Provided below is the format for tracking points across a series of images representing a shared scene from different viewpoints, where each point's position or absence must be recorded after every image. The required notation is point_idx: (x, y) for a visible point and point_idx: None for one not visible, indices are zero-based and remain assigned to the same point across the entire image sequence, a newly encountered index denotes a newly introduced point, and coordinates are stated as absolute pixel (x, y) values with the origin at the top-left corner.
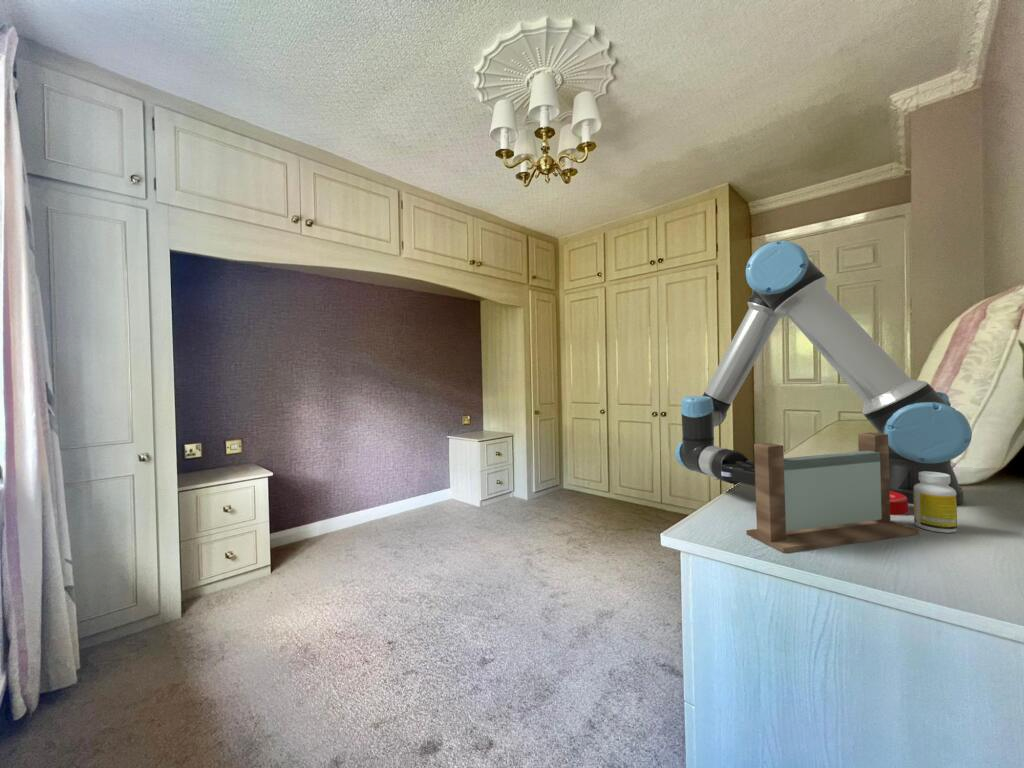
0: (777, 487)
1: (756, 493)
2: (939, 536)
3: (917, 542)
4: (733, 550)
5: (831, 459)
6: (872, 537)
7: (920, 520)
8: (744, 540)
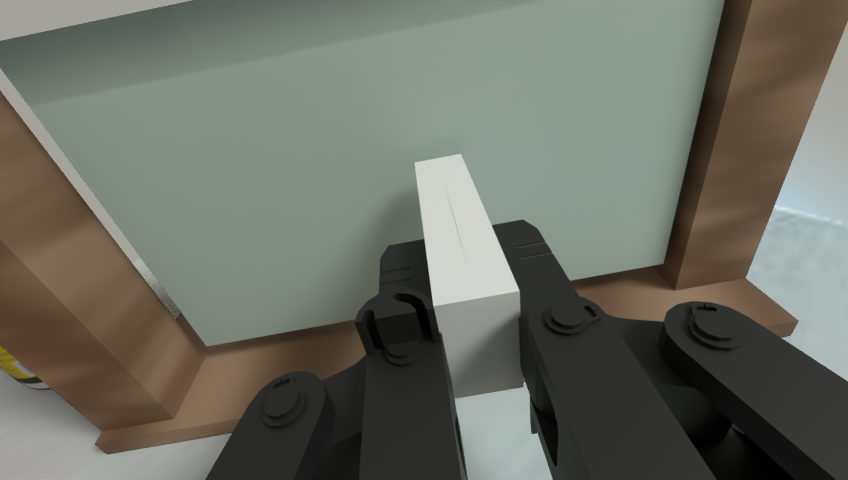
0: None
1: (810, 98)
2: (172, 301)
3: None
4: (838, 234)
5: None
6: None
7: None
8: (798, 291)
